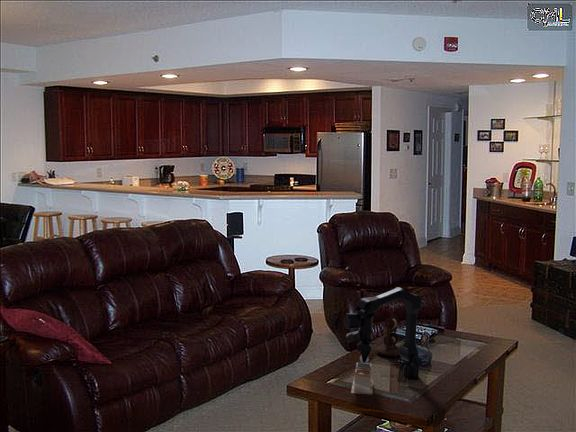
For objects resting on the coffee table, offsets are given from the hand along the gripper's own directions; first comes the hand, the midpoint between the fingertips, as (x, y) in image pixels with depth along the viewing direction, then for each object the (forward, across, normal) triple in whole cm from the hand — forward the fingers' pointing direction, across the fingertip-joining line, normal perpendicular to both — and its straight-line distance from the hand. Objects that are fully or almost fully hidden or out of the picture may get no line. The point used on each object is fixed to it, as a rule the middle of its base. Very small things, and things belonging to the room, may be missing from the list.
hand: (364, 360), depth 292 cm
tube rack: (+11, +4, 0) cm, 12 cm away
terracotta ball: (+6, +9, 0) cm, 11 cm away
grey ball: (+1, 0, 0) cm, 1 cm away
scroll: (+11, -48, +12) cm, 50 cm away
